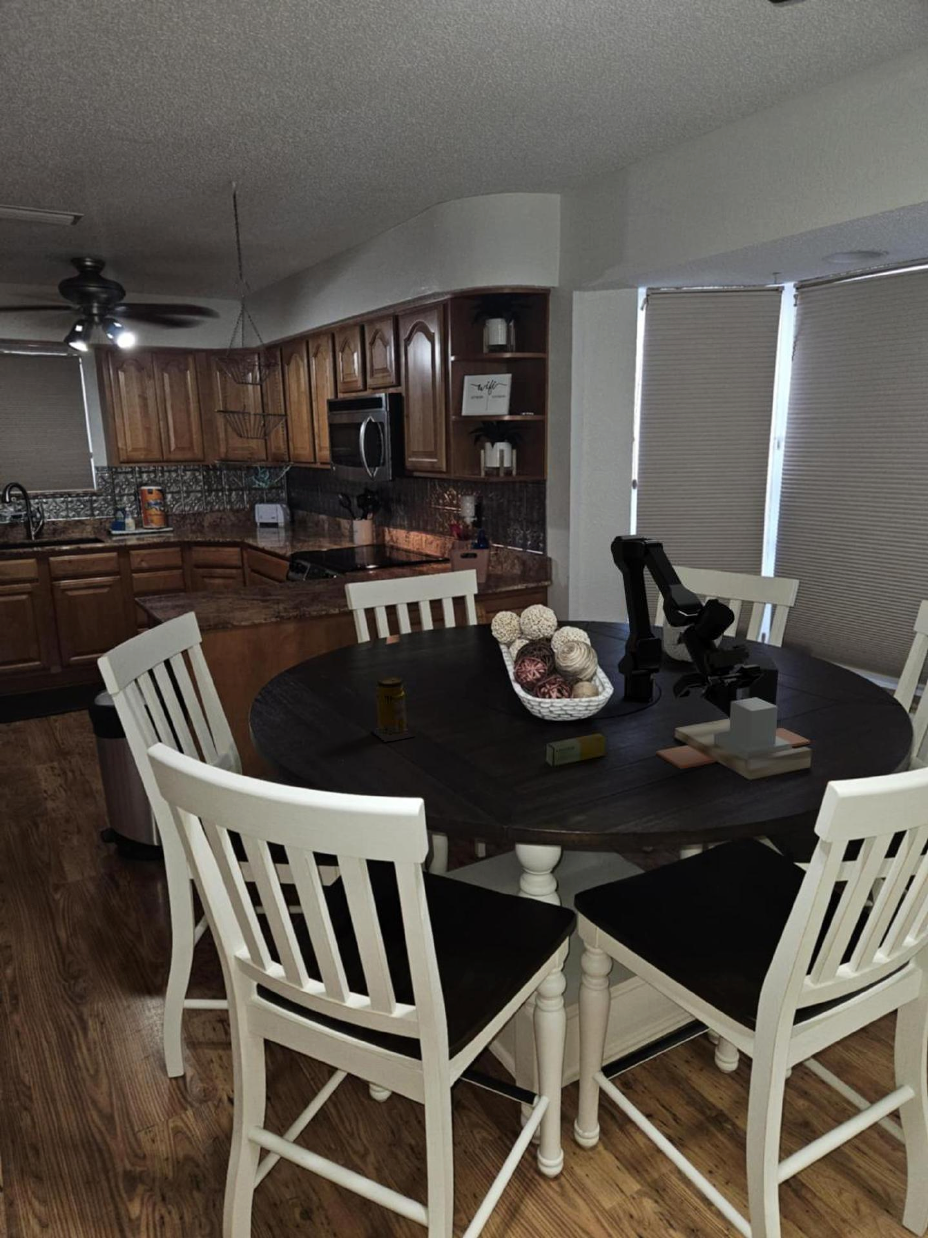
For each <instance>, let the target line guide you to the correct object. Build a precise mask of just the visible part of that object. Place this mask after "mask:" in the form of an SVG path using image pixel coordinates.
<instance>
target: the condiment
mask: <svg viewBox="0 0 928 1238" xmlns="http://www.w3.org/2000/svg"><path fill="white" fill-rule="evenodd" d="M403 688H404V687H403V680H402V679H401V678H398V677H383V678H381V679H379V680H378V681H377V693H376V710H377V729H378V730H379V732H381V733H382V734H389V735H392V734H400V733H402V732H404V731H405V730H406V729H407V728H406V726H407V725H406V724H407V721H406V720H407V718H406V717H407V716H406V715H407V714H406V698H405V692H404V690H403ZM405 728H406V729H405Z"/></svg>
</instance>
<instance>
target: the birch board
mask: <svg viewBox="0 0 928 1238" xmlns="http://www.w3.org/2000/svg"><path fill="white" fill-rule="evenodd" d="M674 730H675V731H674V737H675V738H676V739H677V740H679V741H681V742H683V743H684V744H686V745H692V746H694V747H695V748H697V749H699V750H701V751H702V752H704V753H706V754H708V755H710V756H711V757H713V758H715V759H716V762H718V763H720V764H721V765H723V766H725V767H726V768H729V769H730V770H732V771H733V772H735V773H737V774H739V775H741V776H742V777H744V778H746V779H748V780H749V781H750V780H755V779H759V778H765V777H769V776H773V775H780V774H783V773H787V772H793V771H798V770H802V769H807V768H811V761H812V760H811V759H812V748H810V747H809V748H808V747H807V746H803V747H798V748H794V747H791V750H787V751H782V752H777V753H772V754H767V755H762V756H757V757H752V758H747V759H745V760H744V759H742V758H740V757H738V756H737V755H735V754H733V753H731V752H729V751H727V750H726V749H724V748H722V747H720V746H718V745H716V744H715V743H714V734H715V733H720V732H726V731H729V730H730V718H726V719H719V720H714V721H709V722H703V723H697V724H691V725H686V726H680V727H675V729H674Z"/></svg>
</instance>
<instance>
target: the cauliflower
mask: <svg viewBox="0 0 928 1238" xmlns="http://www.w3.org/2000/svg"><path fill="white" fill-rule="evenodd" d="M701 603H702V604H703V605H705V604H706V602H702V601H701ZM687 627H689V626H684V627H672V626H670V624H669V623H668V621H667V619H666V618H665V619H664V621H663V623H662V629H663V631H662V632H663V638H662V639H663V646H664V651H665V652H666V654H667V655H669V656H670V658H673V659H674V660H677V661H685V662H688V663H691V662H692V659H691V657H690V655H689V653H688V650H687V648H686V646H685V644H677V639H678V637H679V633H680V632H681V631H685V630H686V628H687ZM722 638H723V634H722V635H721V636H720V637H719V638H718V639H716V640H714V642H715V644H716V646H717V648H719V647H718V646H719V645H720V642H721V641H722Z"/></svg>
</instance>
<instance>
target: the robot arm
mask: <svg viewBox="0 0 928 1238" xmlns="http://www.w3.org/2000/svg"><path fill="white" fill-rule="evenodd" d="M610 552H611V555H612V560H613V562H614V565H615V566H616V568H617V569H618V570H619V572H621V576H622V581H623V589H624V599H625V604H626V606H625V607H626V613H627V621H628V627H629V628H628V629H629V635H628V637H627V639H626V642H625V644H624V655H623V656H622V658H621V659H620V660H619V661H618V663H617V669H618V674H621V675H623V676H624V677H623V681H624V682H623V684H624V685H623V687H624V688H623V696H622V698H621V699H622V700H623V701H631V702H632V701H633V702H639V703H640V702H641V703H642V702H643V703H650V702H651V700H652V699H653V698H654V697H655V696H656V679H655V678H654V674H659V673H660V671H661V668H662V667H661V666H662V663H663V661H664V660H663V659H664V650H663V646H662V645H663V644H662V643H663V642H662V638H661V637H657V636H656V635H655V634H654V632H653V631H652V627H651V621H650V620H651V619H650V611H649V604H648V597H647V589H646V588H647V587H646V580H645V573H644V571H645V567H646V568H647V570H648V572H649V573H650V575H651V577H652V580H653V581H654V583H655V585H656V587H657V589H658V591H659V592H660V594H661V596H662V598H663V601H662V602H663V603H662V611H663V613H664V617H665V619H667V621H668V623H669V624H670V626H672V627H684V626H689V627H687V628H686V630H685V631H681V632H680V633H679V637H678V639H677V644H685V646H686V648H687V650H688V653H689V655H690V657H691V659H692V662H689V666H690V668H691V669H694V668H695V670H696V671H697V672H694V673H689V674H688V673H687V674H683V675H681V677H680V678H679V679H677V681H676V682H675V683H674V684H673V685H672V693H673V696H674V697H675V699H676V700H679V699H685V698H686V699H687V698H688V697H689V696H690V695H691V690H697V689H701V692H702V694H701V695H700V696H699V697H700V699H704V700H706V701H707V702H709V703H711V704H712V705H713V706H715V707H716V708H717V709H719V710H720V711H721V712H722V713H724V714H725V715H726V716H727V717H728V718H730V710H731V701H737V700H738V698H737V696H738V694H737V693H738V691H737V690H742V688H748V687H750V686H752V685H753V684H754V683H755V682H756V681H757V680H758V679H759V678H761V677H762V676H763V675H764V674H763V672H762V670H761V668H760V666H758V665H756V664H753V665H746V666H744V663H745V662H744V660H745V659H748V658H749V656H750V653H749V650H748V648H747V646H746V644H745V643H739V644H736V645H733V646H732V648H730V649H724V648H723V647H717V646H716V644H715V642H714V640H716V639H718V638H719V637H720V636H721V635H722V636H723V634H724V633H725V632H726V631H727V630H728V629H729V628H731V626H732V625H733V624H734V622H735V620H736V617H735V615H736V614H735V613H734V611H733V610H732V609H731V608H730V607H729V606H728V605H726V604H725V603H723V602H719V599H718V598H717V597H716V598H709V599H707V601H706V602H705V603H706V604H705V605H703V604H702V603H701V602H702V601H701V600H700V598H699V597H698V596H697V595H696V594H695V593H694V592H693V591H692V590H690V589H688V588H686V586H685V585H684V584H683V582H682V581H681V579H680V577H679V575H678V574H677V571H676V569H675V568H674V567H673V564H672V563H671V561H670V559H669V558H668V556H667V554H666V552H665V551H664V544H663V542H662V541H661V540H658V539H654V538H646V537H645V536H644V535H643V534H642V533H638V534H637V533H636V534H627V535H617V536H615V537H614V539H613V541H612V542H611V544H610ZM740 664H741V665H742V666H740V667H739V668H738V669H737V670H736V671H735V672H734V673H730V672H731V671H733V670H734V669H735V668H736V667H735V665H736V666H737V665H740Z"/></svg>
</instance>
